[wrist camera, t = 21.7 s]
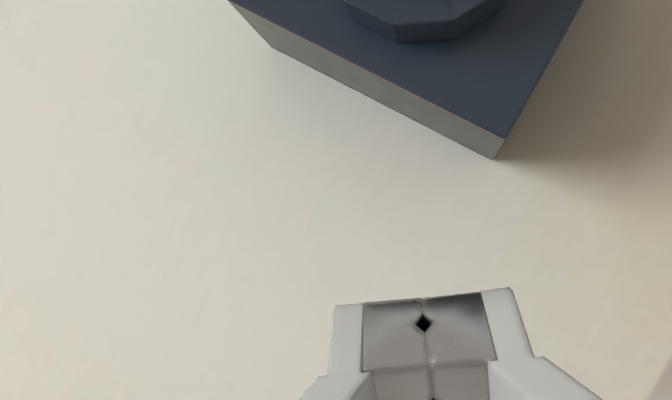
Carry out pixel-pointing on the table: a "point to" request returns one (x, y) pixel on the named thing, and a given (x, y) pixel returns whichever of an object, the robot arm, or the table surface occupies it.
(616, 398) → the table surface
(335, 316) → the robot arm
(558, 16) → the grey button box
